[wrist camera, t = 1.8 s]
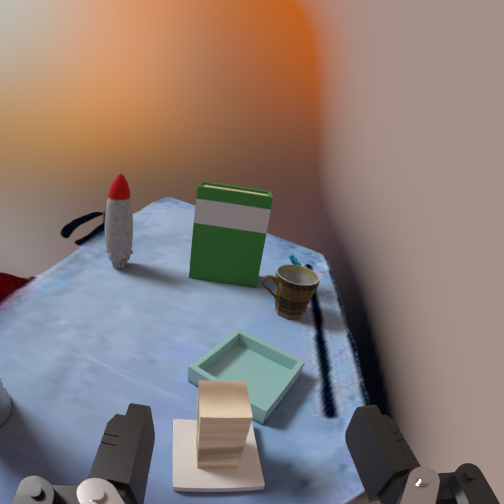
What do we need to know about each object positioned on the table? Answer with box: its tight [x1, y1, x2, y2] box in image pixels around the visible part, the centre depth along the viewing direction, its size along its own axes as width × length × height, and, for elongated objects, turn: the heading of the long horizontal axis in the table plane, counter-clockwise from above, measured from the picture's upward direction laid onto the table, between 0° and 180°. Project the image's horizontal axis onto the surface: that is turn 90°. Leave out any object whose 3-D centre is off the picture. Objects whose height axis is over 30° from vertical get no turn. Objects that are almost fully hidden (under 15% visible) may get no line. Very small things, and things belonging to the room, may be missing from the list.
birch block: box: [196, 380, 253, 468], centre depth 30 cm, size 5×5×12 cm
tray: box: [188, 329, 305, 425], centre depth 47 cm, size 14×14×4 cm
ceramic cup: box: [262, 265, 320, 319], centre depth 68 cm, size 13×10×10 cm
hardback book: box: [189, 182, 273, 288], centre depth 77 cm, size 18×7×24 cm, turn 90°
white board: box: [173, 419, 265, 492], centre depth 32 cm, size 11×11×2 cm
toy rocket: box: [103, 174, 133, 269], centre depth 72 cm, size 8×8×25 cm
